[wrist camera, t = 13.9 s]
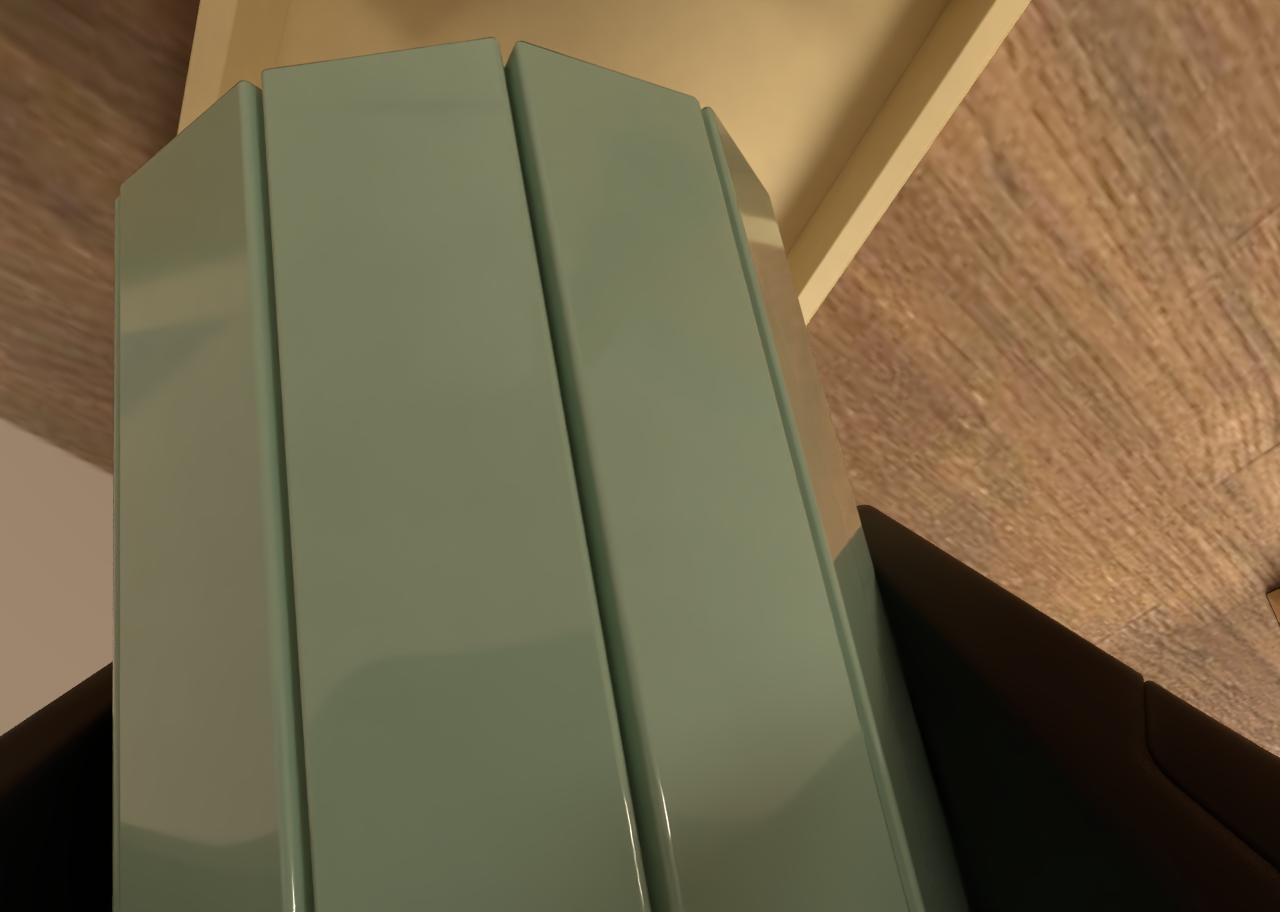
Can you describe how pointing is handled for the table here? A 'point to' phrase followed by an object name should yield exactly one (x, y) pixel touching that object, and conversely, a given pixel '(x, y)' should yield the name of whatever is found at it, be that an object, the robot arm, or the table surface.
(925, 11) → the tray
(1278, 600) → the wooden block
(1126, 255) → the table surface
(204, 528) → the grooved sage-green cylinder
